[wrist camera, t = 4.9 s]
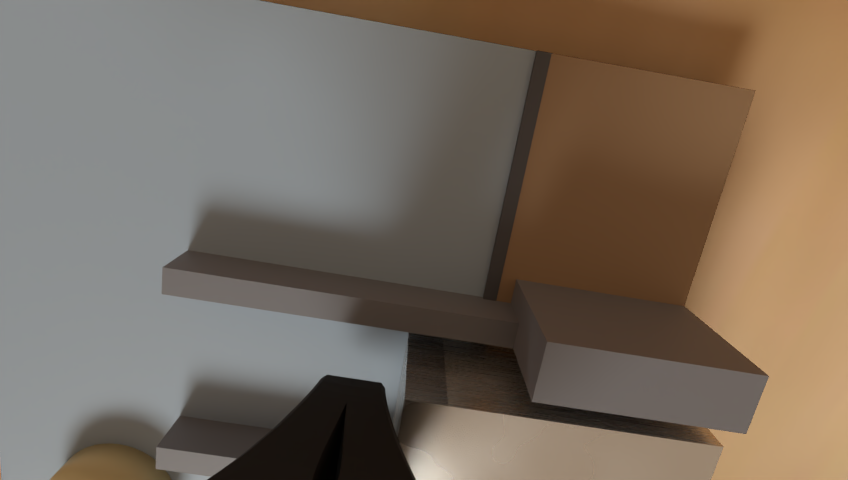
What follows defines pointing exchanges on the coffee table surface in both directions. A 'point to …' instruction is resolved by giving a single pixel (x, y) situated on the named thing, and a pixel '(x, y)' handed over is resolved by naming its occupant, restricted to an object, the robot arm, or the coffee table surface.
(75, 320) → the door board
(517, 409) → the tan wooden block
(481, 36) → the coffee table surface
